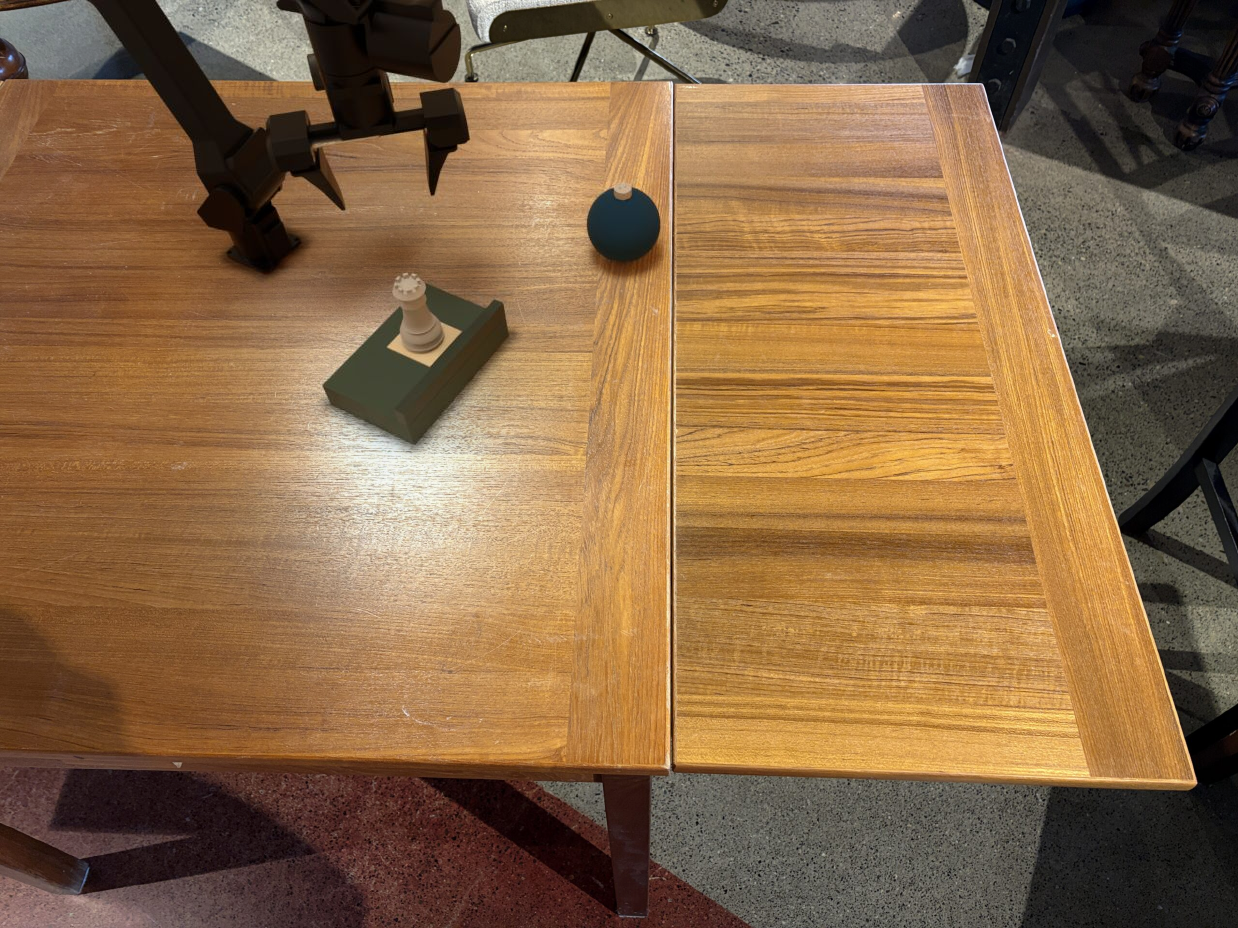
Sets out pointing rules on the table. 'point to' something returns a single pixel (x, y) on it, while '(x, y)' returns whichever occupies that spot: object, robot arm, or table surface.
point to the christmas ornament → (623, 223)
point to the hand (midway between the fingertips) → (388, 200)
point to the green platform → (417, 366)
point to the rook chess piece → (416, 315)
